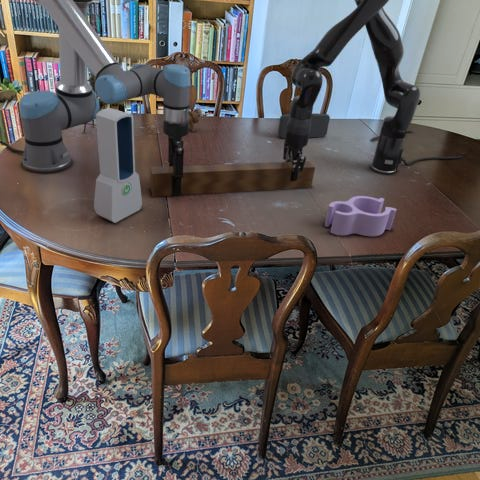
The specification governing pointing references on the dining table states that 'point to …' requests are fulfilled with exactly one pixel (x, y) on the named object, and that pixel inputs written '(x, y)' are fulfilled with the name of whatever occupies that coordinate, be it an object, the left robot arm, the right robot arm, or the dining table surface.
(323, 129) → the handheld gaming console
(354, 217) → the clip
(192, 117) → the lion figurine
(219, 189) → the beam
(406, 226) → the dining table surface
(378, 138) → the sword
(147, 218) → the dining table surface
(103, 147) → the electronic device
